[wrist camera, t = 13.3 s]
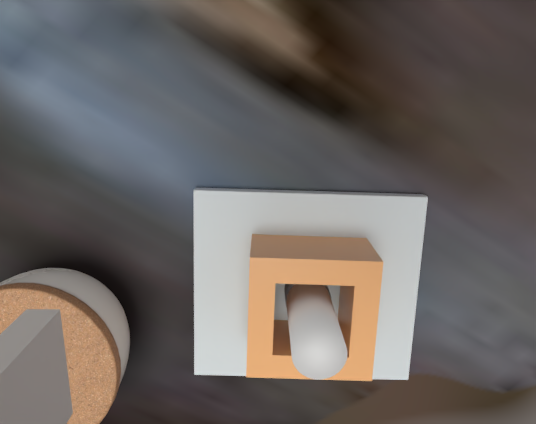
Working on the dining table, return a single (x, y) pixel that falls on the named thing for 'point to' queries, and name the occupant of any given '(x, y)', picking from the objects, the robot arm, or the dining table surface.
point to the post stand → (302, 295)
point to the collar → (312, 273)
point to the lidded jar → (77, 332)
